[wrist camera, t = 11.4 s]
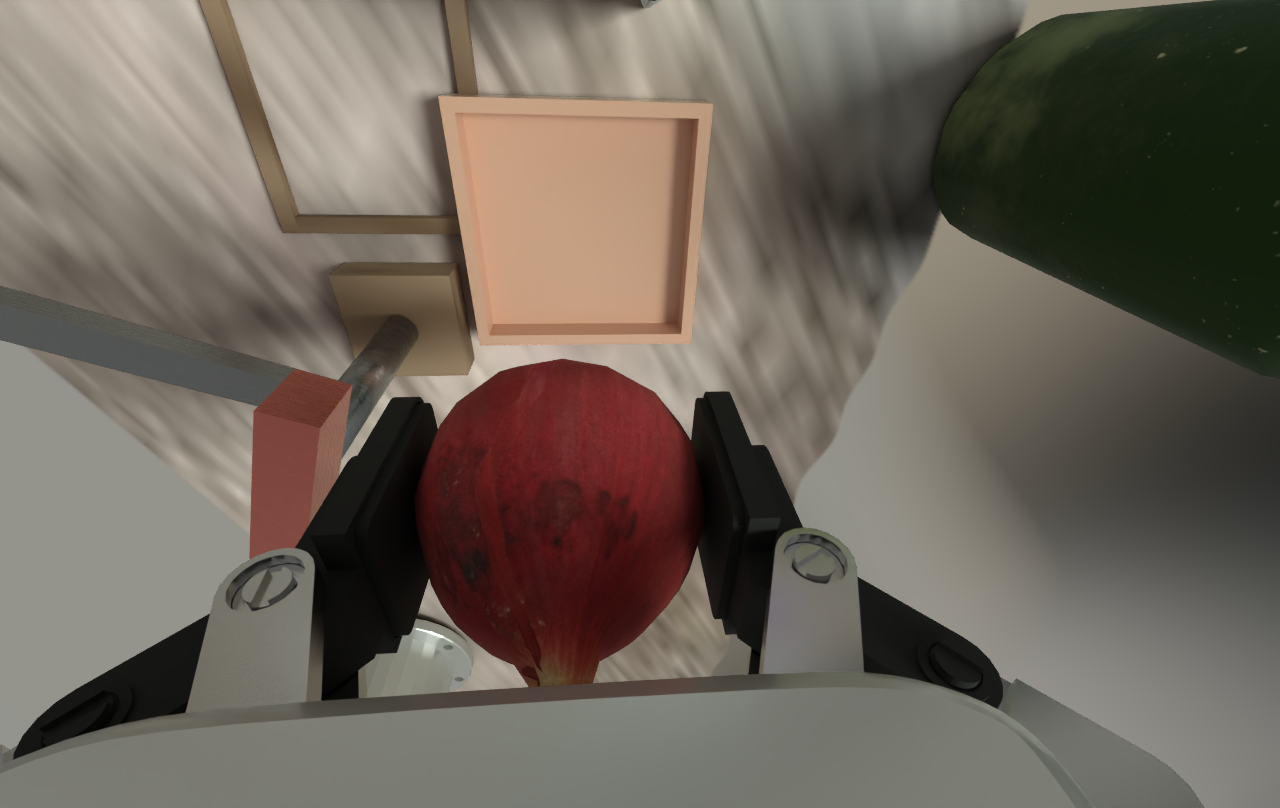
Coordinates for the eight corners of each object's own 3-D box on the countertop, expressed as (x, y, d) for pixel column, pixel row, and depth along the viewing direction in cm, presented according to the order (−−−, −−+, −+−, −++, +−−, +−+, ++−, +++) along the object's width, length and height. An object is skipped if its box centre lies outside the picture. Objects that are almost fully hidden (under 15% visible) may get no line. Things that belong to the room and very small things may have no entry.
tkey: (430, 279, 26) (319, 428, 15) (407, 387, 29) (303, 568, 19) (115, 169, 22) (-312, 267, 12) (131, 307, 26) (-188, 479, 15)
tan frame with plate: (512, 358, 31) (507, 374, 30) (334, 360, 31) (319, 377, 29) (462, -27, 21) (451, -34, 20) (192, -39, 20) (157, -48, 19)
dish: (685, 327, 31) (690, 343, 29) (486, 328, 30) (479, 345, 28) (704, 100, 24) (713, 103, 23) (449, 93, 23) (438, 96, 22)
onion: (413, 390, 13) (233, 717, 7) (582, 255, 12) (569, 503, 5) (563, 511, 16) (542, 825, 9) (715, 414, 14) (821, 711, 8)
